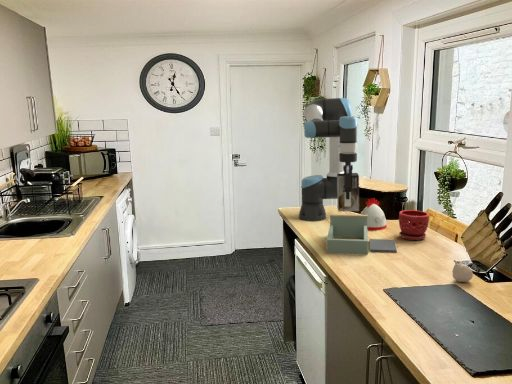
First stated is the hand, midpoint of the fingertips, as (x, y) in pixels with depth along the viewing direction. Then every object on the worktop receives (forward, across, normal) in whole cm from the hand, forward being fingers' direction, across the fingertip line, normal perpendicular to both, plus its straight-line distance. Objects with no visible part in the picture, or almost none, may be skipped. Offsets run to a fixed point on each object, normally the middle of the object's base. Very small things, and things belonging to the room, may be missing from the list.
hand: (347, 204), depth 201 cm
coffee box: (+3, 0, 0) cm, 3 cm away
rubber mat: (+19, +1, +15) cm, 24 cm away
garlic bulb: (+19, +37, +40) cm, 58 cm away
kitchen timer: (+19, -31, +12) cm, 38 cm away
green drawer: (+19, 0, 0) cm, 19 cm away
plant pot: (+19, -14, +30) cm, 38 cm away
